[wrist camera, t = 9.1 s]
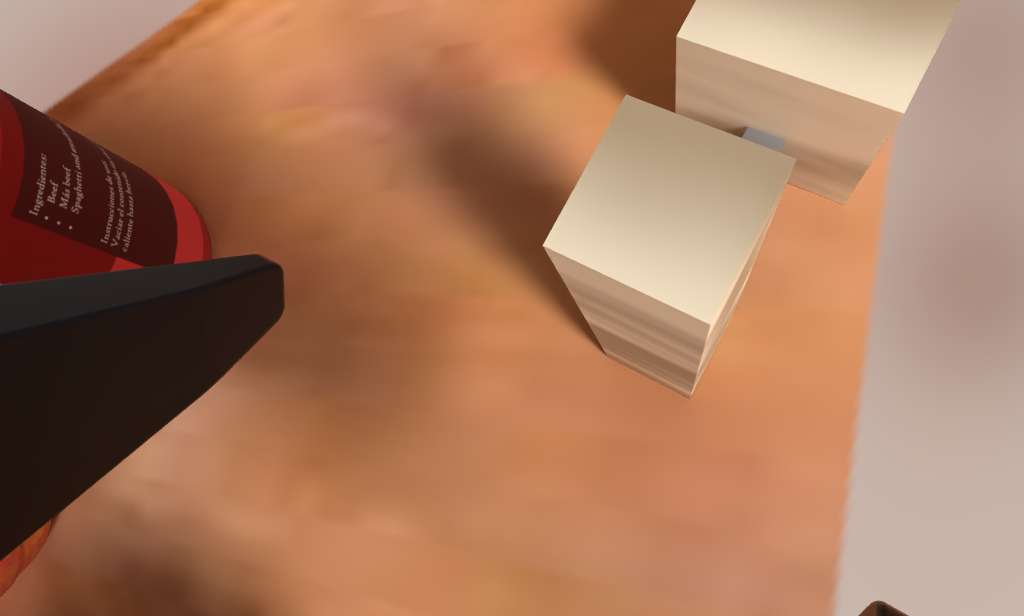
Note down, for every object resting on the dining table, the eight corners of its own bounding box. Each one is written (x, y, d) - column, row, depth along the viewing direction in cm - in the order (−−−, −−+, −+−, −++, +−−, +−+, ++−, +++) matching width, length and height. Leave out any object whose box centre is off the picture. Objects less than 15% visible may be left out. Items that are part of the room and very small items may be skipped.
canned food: (26, 328, 28) (-348, 249, 18) (116, 163, 29) (-189, -3, 19) (156, 402, 26) (-184, 360, 16) (250, 221, 27) (-14, 68, 17)
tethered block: (733, 421, 21) (806, 370, 10) (568, 336, 23) (468, 210, 12) (921, 51, 23) (1177, -373, 11) (750, -1, 24) (820, -412, 13)
